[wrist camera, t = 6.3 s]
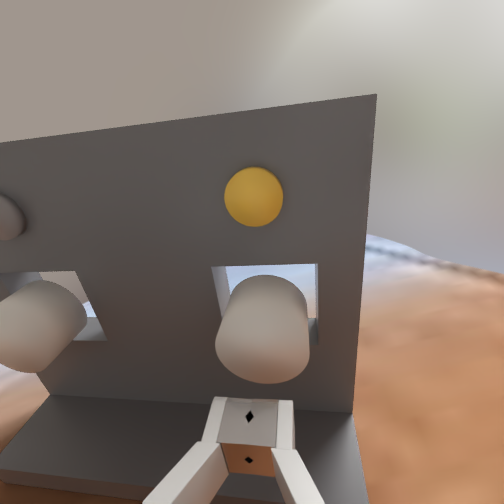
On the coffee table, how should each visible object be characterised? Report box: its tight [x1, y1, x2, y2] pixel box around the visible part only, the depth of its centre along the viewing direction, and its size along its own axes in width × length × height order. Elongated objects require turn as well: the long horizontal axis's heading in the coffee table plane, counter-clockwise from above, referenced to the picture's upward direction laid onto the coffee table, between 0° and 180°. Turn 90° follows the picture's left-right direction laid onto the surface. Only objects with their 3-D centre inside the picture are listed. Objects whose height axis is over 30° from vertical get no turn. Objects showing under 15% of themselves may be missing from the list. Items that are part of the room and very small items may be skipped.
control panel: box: [0, 94, 377, 504], centre depth 16 cm, size 8×24×21 cm, turn 82°
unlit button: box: [0, 280, 87, 373], centre depth 17 cm, size 3×4×4 cm
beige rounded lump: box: [215, 275, 310, 384], centre depth 14 cm, size 3×4×4 cm
